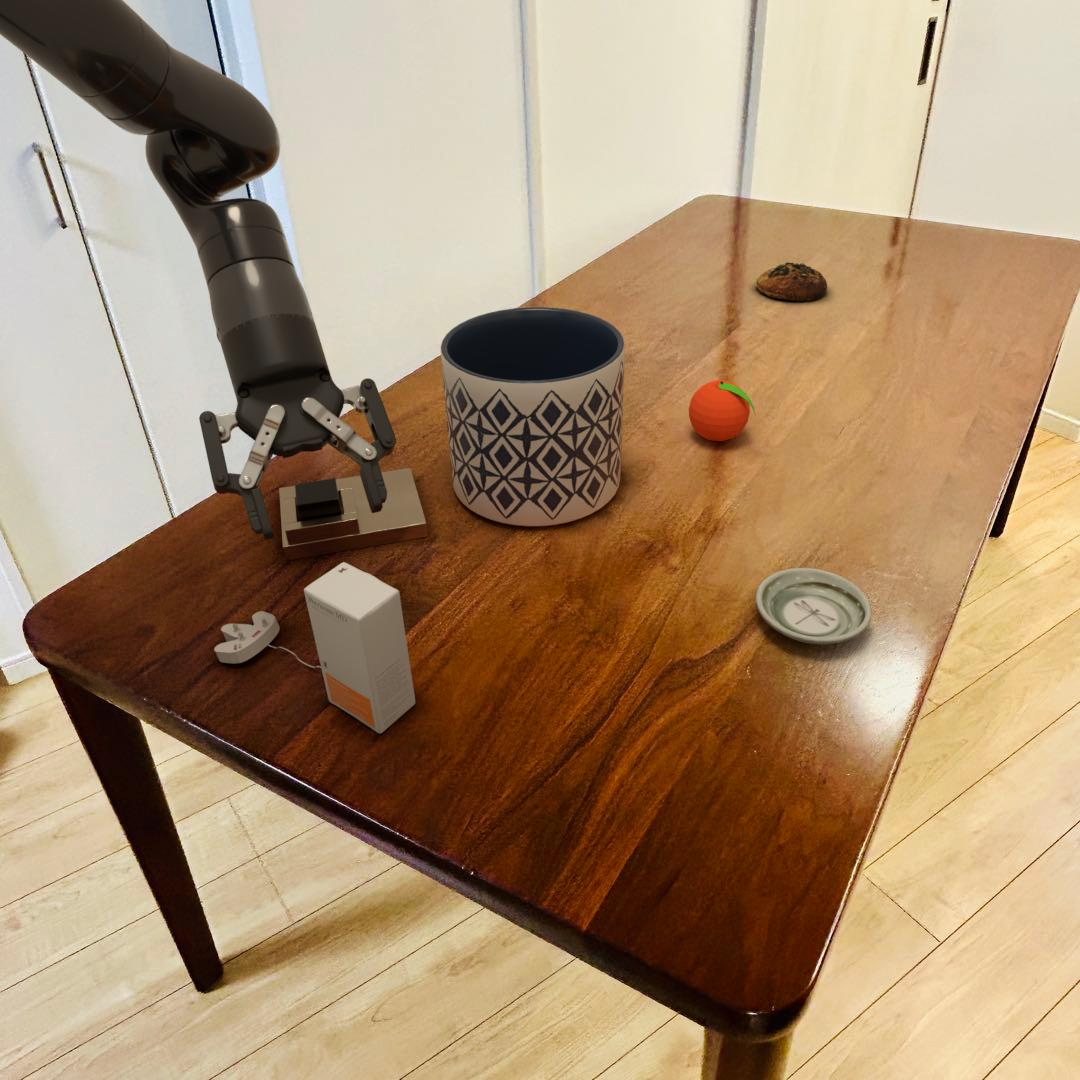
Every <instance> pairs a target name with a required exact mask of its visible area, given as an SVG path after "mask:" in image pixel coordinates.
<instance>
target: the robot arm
mask: <svg viewBox="0 0 1080 1080" xmlns="http://www.w3.org/2000/svg"><path fill="white" fill-rule="evenodd" d="M0 36H1V37H3V38H4V39H5V40H7V41H8V42H9V43H11V44H12V45H13V46H14V47H16V48H17V49H18V50H19V51H20V52H22V53H23V54H24V55H26V56H27V57H28V58H30V59H31V60H32V61H33V62H35V63H36V64H37V65H38V66H40V67H41V68H42V69H44V70H45V71H46V72H47V73H48V74H50V75H51V76H52V77H54V78H55V79H56V80H58V81H59V82H60V83H61V84H62V85H63V86H65V87H66V88H67V89H69V91H71V92H73V93H74V94H76V96H77V97H79V98H80V99H81V100H83V101H84V102H85V103H87V104H88V105H89V106H91V107H92V108H93V109H94V110H95V111H97V112H98V113H100V114H101V115H102V116H103V117H104V118H106V119H107V120H108V121H110V122H111V123H112V124H113V125H115V126H117V127H118V128H120V129H121V130H123V131H124V132H126V133H130V134H132V135H138V136H146V139H145V145H144V146H145V147H144V148H145V158H146V163H147V165H148V167H149V170H150V172H151V174H152V175H153V177H154V179H155V181H156V182H157V184H158V185H159V186H160V188H161V189H162V191H163V192H164V194H165V196H166V197H167V198H168V200H169V201H170V203H171V205H172V207H174V209H175V211H176V213H177V215H178V216H179V218H180V220H181V221H182V223H183V225H184V227H185V229H186V231H187V232H188V234H189V236H190V238H191V240H192V242H193V244H194V247H195V248H196V251H197V255H198V259H199V262H200V266H201V269H202V273H203V277H204V280H205V283H206V287H207V290H208V295H209V299H210V300H209V301H210V309H211V315H212V320H213V323H214V326H215V331H216V338H217V341H218V342H219V344H220V346H221V350H222V354H223V357H224V361H225V364H226V367H227V371H228V375H229V378H230V382H231V385H232V388H233V391H234V395H235V398H236V402H237V403H236V407H235V408H236V409H235V411H233V412H225V413H220V414H219V413H218V414H215V413H214V412H212V411H210V410H205V411H202V412H201V413H200V415H199V417H198V419H199V423H200V424H199V425H200V429H201V434H202V439H203V444H204V448H205V453H206V457H207V463H208V467H209V471H210V476H211V482H212V484H213V488H214V490H215V492H216V493H217V494H220V495H225V494H234V495H238V496H239V497H240V498H241V499H242V500H243V505H244V508H245V511H246V515H247V518H248V521H249V525H250V529H251V531H252V532H253V533H254V534H255V535H256V536H257V535H262V536H263V540H264V541H268V540H271V539H274V531H273V527H272V524H271V520H270V516H269V513H268V508H267V507H266V502H265V500H264V499H265V498H264V496H263V492H262V489H261V487H259V485H260V483H261V480H262V478H263V476H264V474H265V472H266V471H267V469H268V467H269V465H270V462H271V460H272V457H273V455H274V456H277V457H282V459H287V458H291V457H295V456H296V455H298V454H301V453H302V452H305V453H306V452H308V453H309V452H310V453H313V452H318V451H321V450H323V448H324V447H326V445H329V446H330V447H332V448H333V449H335V451H337V452H339V453H340V454H342V455H345V456H347V457H348V458H350V459H351V460H352V461H353V462H355V463H357V464H358V465H359V469H358V474H359V476H360V477H361V480H362V483H363V486H364V490H365V493H366V496H367V500H368V503H369V506H370V510H371V512H372V513H376V512H380V511H381V510H382V508H383V505H382V503H385V501H386V499H387V490H386V486H385V483H384V480H383V477H382V473H381V472H382V471H381V467H380V464H379V463H380V461H381V460H382V459H383V458H385V457H387V456H390V455H391V454H392V453H393V452H394V447H395V446H396V444H397V438H396V433H395V432H394V430H393V426H392V424H391V421H390V419H389V416H388V413H387V411H386V407H385V405H384V403H383V400H382V397H381V394H380V393H379V389H378V387H377V384H376V382H375V381H374V380H373V379H371V378H364V379H362V380H361V381H360V384H359V385H354V386H350V387H347V388H343V389H341V388H339V386H337V384H336V383H335V381H334V380H333V377H332V375H331V372H330V369H329V365H328V361H327V358H326V355H325V352H324V349H323V345H322V342H321V339H320V335H319V332H318V329H317V326H316V322H315V318H314V316H313V312H312V308H311V306H310V302H309V298H308V296H307V294H306V291H305V289H304V287H303V284H302V282H301V281H300V278H299V276H298V273H297V270H296V266H295V264H294V263H295V262H294V260H293V256H292V254H291V250H290V247H289V244H288V241H287V237H286V234H285V231H284V228H283V223H282V222H281V220H280V218H279V215H278V214H277V212H276V211H275V209H274V208H273V207H272V206H271V205H269V204H268V203H266V202H265V201H262V200H260V199H258V198H257V199H256V198H251V197H238V198H227V199H223V200H221V198H222V197H225V195H228V194H229V193H232V192H233V191H235V190H237V189H239V188H241V187H243V186H245V185H247V184H249V183H252V182H253V181H255V180H258V179H259V178H261V177H263V176H265V175H266V174H268V173H269V172H271V170H272V169H273V168H274V167H275V166H276V164H277V162H278V160H279V158H280V154H281V137H280V133H279V129H278V127H277V124H276V122H275V120H274V119H273V117H272V115H271V114H270V112H269V110H268V108H266V107H265V106H264V105H263V103H262V102H261V101H260V100H259V99H258V98H257V97H256V96H255V95H254V94H253V93H252V92H250V91H249V90H248V89H246V88H245V87H244V86H243V85H241V84H240V83H238V82H236V81H235V80H233V79H231V78H230V77H229V76H226V75H225V74H222V73H221V72H219V71H217V70H215V69H213V68H211V67H209V66H207V65H205V64H204V63H202V62H200V61H198V60H196V59H194V58H193V57H191V56H189V55H188V54H185V53H184V52H181V51H180V50H178V49H175V47H172V46H171V45H170V44H169V43H168V42H167V41H166V40H165V39H164V38H163V37H161V35H160V34H159V33H158V32H156V31H155V30H154V28H153V27H151V25H149V24H148V23H147V22H146V21H145V19H143V18H142V17H141V16H140V15H139V13H137V12H136V11H135V10H134V9H133V8H132V7H130V5H128V4H127V3H126V2H125V1H124V0H0ZM344 405H350V406H351V407H353V409H354V411H355V412H356V413H358V414H364V417H365V419H366V422H367V424H368V425H367V426H368V427H369V429H370V433H371V435H372V438H373V440H374V441H373V442H371V443H370V442H368V441H367V440H365V439H364V438H363V437H362V436H360V435H359V434H358V433H356V431H355V430H354V429H353V427H351V426H350V425H348V424H347V423H346V422H344V421H343V420H342V419H340V417H341V415H342V411H343V408H344ZM235 428H238V429H239V430H240V431H241V432H243V433H244V434H245V435H246V436H248V437H249V438H251V439H252V440H253V441H254V442H253V444H252V447H251V448H250V451H249V454H248V458H247V460H246V463H245V464H244V467H243V469H242V470H241V471H242V472H241V473H231V472H228V467H227V461H226V456H225V453H224V448H223V444H227V443H229V442H230V440H231V438H232V431H233V430H234V429H235Z"/></svg>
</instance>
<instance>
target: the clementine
mask: <svg viewBox="0 0 1080 1080" xmlns="http://www.w3.org/2000/svg"><path fill="white" fill-rule="evenodd" d="M751 408H752V411H753V413H754V415H756V411H755V406H754V404H753V402H752V399H751V398H750V397H749V396H748V394H747V393H746V392H745V391H744V390H743V389H742V388H741V387H740V386H738V385H737V384H735V383H733V382H731V381H729V380H725V379H717V380H712V381H709V382H707V383H704V384H703V385H701V386H700V387H699V388H698V389H697V390H696V391H695V392H694V393H693V395H692V396H691V398H690V402H689V406H688V417H689V418H688V419H689V421H690V422H689V423H690V424H691V427H692V428H693V430H695V432H696V433H697V434H698V435H699V436H701V437H703V438H704V439H707V440H708V441H712V442H724V441H728V440H731V439H733V438H735V437H737V436H738V435H739V434H740V433H742V431H743V430H744V429H745V427H746V426H747V424H748V421H749V418H750V414H751Z"/></svg>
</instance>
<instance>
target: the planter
mask: <svg viewBox="0 0 1080 1080" xmlns="http://www.w3.org/2000/svg"><path fill="white" fill-rule="evenodd" d="M625 344H626V343H625V339H624V336H623V335H622V333H621V331H620V330H618V328H617V327H616V326H615V325H613V324H612V323H610V322H609V321H607V320H605V319H603V318H601V317H598V316H597V315H593V314H590V313H587V312H583V311H579V310H573V309H566V308H559V307H545V306H535V307H534V306H533V307H532V306H531V307H529V306H528V307H515V308H507V309H506V308H505V309H500V310H495V311H491V312H486V313H483V314H480V315H479V314H478V315H477V316H474V317H471V318H468V319H467V320H465V321H462V322H461V323H459V324H457V325H455V326H454V327H453V328H451V329H450V331H448V332H447V333H446V334H445V336H444V337H443V339H442V341H441V344H440V358H441V371H442V381H443V382H442V383H443V384H442V385H443V394H444V395H443V396H444V405H445V406H444V407H445V416H446V427H447V437H448V448H449V458H450V459H449V460H450V469H451V478H452V487H453V490H454V493H455V495H456V497H457V498H458V500H459V501H460V502H461V503H462V504H463V505H464V506H465V507H466V508H468V509H469V510H470V511H472V512H474V513H475V514H477V515H479V516H481V517H484V518H485V519H488V520H491V521H494V522H497V523H501V524H505V525H506V524H507V525H512V526H518V527H519V526H520V527H521V526H522V527H546V526H547V527H548V526H554V525H556V526H557V525H561V524H566V523H570V522H573V521H577V520H580V519H582V518H585V517H587V516H590V515H592V514H593V513H595V512H597V511H599V510H600V509H602V508H603V507H605V506H606V505H607V504H608V503H609V502H610V501H611V500H612V499H613V497H614V496H615V495H616V493H617V491H618V490H619V487H620V483H621V482H620V481H621V465H622V441H623V440H622V439H623V418H624V417H623V413H624V388H625V387H624V386H625V383H624V382H625V353H626V352H625V351H626V350H625V349H626V347H625V346H626V345H625Z"/></svg>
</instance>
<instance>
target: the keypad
mask: <svg viewBox="0 0 1080 1080" xmlns="http://www.w3.org/2000/svg"><path fill="white" fill-rule="evenodd" d="M381 473H382V477H383V480H384V483H385V486H386V490H387V499H386V501H385V503H382V505H383V508H382V510H381V511H380V512H376V513H372V512H371V510H370V506H369V503H368V500H367V496H366V493H365V490H364V486H363V483H362V480H361V477H360V475H356V476H348V477H342V478H335V479H336V484H337V490H338V495H339V501H340V508H341V514H342V515H337V516H331V517H325V518H319V519H313V520H307V521H301V522H300V519H299V514H298V510H297V504H296V492H295V485H290V486H285V487H279V488H278V491H279V492H278V494H279V507H280V522H281V523H280V525H281V540H282V551H283V553H284V554H283V555H284V558H285V561H286V562H289V561H294V560H300V559H305V558H311V557H316V556H322V555H329V554H334V553H340V552H346V551H351V550H357V549H364V548H369V547H374V546H381V545H388V544H392V543H393V544H394V543H399V542H404V541H409V540H410V541H411V540H417V539H423V538H428V537H429V533H428V523H427V520H426V517H425V516H426V515H425V514H424V509H423V506H422V503H421V500H420V495H419V493H418V489H417V486H416V484H415V479H414V475H413V472H412V468H411V467H406V468H399V469H392V470H388V471H381Z"/></svg>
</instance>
